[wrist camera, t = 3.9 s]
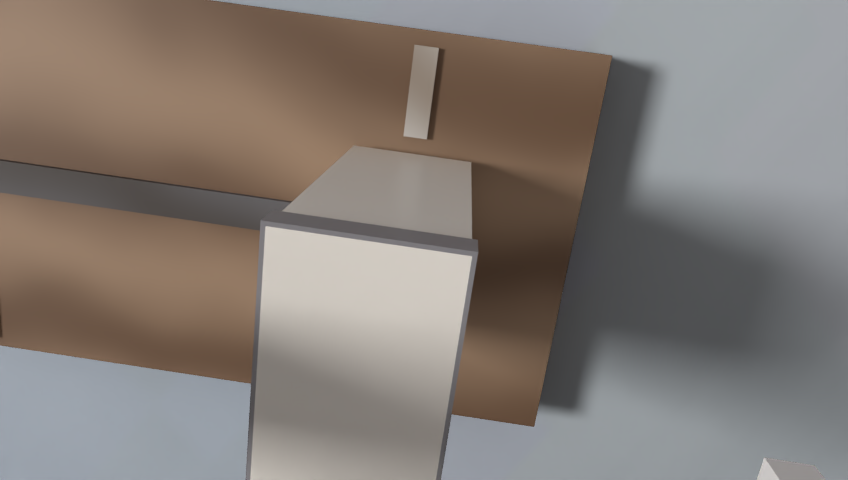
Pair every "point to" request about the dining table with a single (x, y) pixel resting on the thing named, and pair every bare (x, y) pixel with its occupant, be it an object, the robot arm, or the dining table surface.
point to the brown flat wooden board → (267, 173)
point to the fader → (362, 320)
